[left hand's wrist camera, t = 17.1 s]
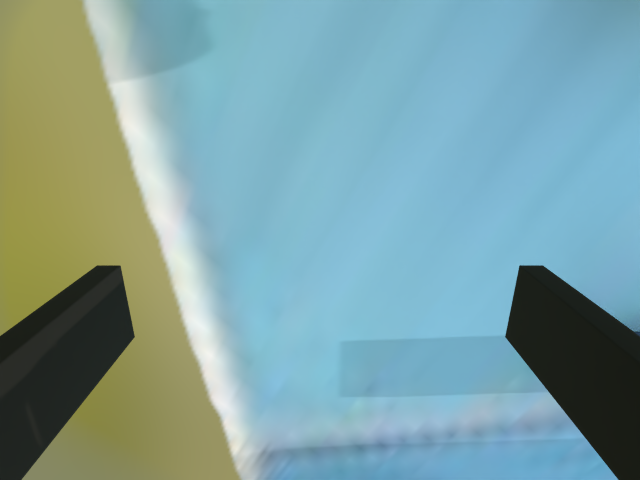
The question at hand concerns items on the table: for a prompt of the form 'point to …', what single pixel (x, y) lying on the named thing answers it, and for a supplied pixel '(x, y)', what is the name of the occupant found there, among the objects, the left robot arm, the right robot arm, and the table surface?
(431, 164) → the table surface
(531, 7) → the table surface
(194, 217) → the table surface
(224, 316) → the table surface
